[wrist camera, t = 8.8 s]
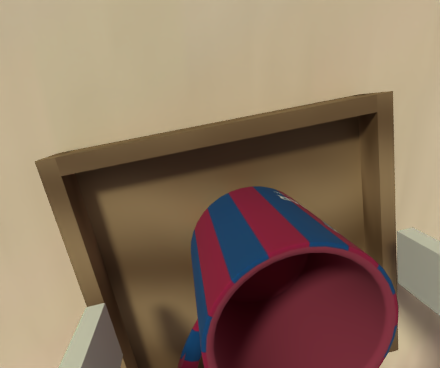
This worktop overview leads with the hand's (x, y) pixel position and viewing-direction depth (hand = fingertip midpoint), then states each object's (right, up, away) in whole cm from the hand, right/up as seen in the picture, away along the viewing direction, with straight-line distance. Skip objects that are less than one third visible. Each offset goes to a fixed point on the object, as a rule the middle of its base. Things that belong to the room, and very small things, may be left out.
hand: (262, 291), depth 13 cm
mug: (-1, 0, +4) cm, 4 cm away
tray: (-1, +1, +4) cm, 4 cm away
